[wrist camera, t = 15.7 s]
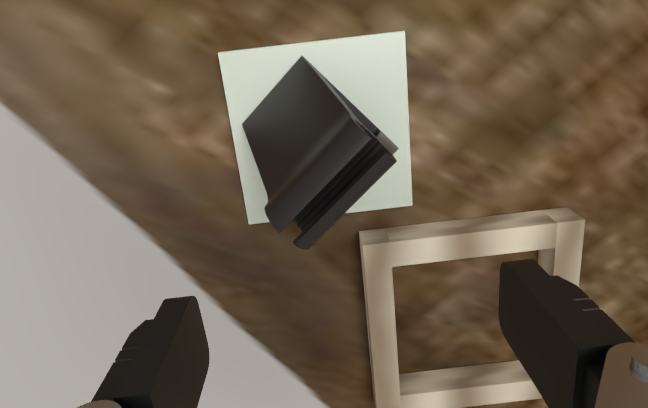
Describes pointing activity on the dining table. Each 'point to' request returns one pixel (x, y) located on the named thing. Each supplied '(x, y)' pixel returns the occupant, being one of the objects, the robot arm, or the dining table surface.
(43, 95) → the dining table surface
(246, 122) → the phone stand
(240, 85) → the sage mat
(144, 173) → the dining table surface
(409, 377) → the pocket holder
